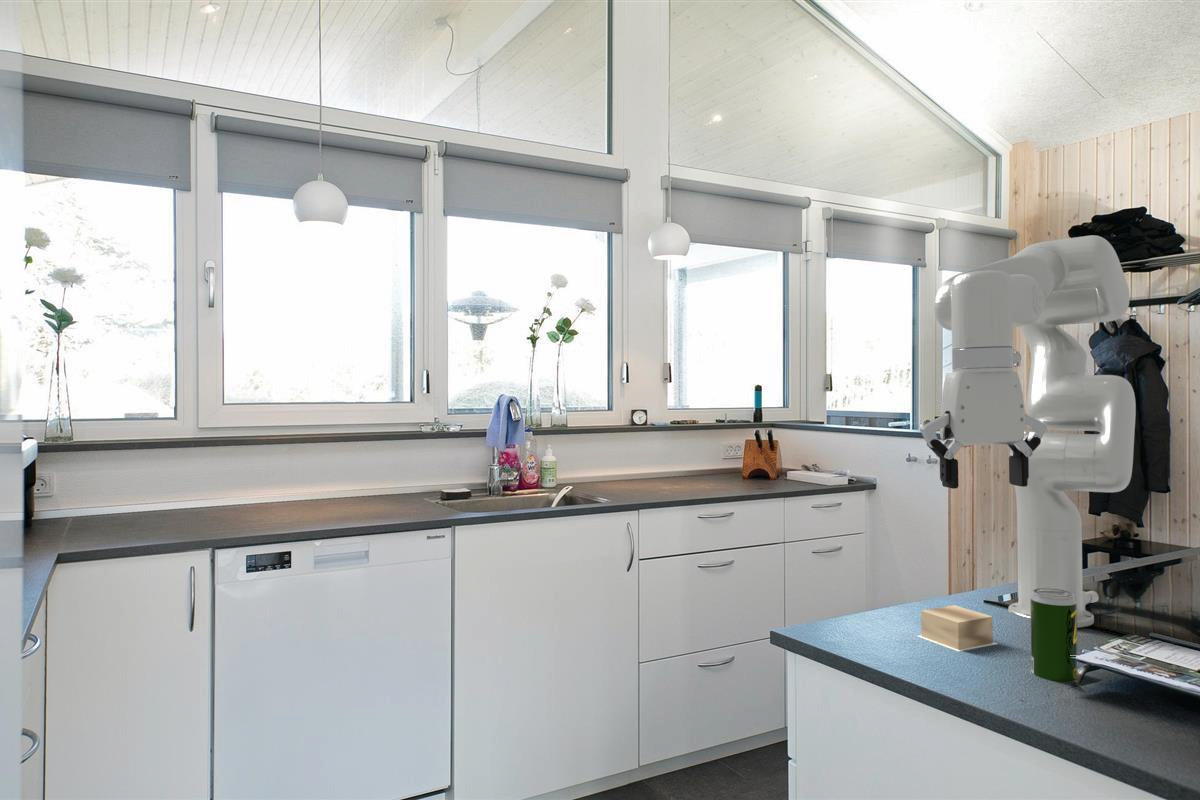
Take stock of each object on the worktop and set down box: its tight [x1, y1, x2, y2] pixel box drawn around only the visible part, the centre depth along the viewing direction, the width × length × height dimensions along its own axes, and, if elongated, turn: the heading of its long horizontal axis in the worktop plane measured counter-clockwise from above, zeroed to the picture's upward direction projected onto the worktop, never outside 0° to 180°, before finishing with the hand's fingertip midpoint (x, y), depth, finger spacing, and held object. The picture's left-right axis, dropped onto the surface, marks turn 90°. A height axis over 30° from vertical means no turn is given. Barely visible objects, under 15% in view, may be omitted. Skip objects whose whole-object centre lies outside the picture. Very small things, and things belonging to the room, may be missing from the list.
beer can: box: [1030, 588, 1079, 690], centre depth 102 cm, size 5×5×12 cm
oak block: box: [920, 604, 994, 650], centre depth 117 cm, size 7×7×4 cm
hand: (984, 486), depth 105 cm, fingers open, 9 cm apart
